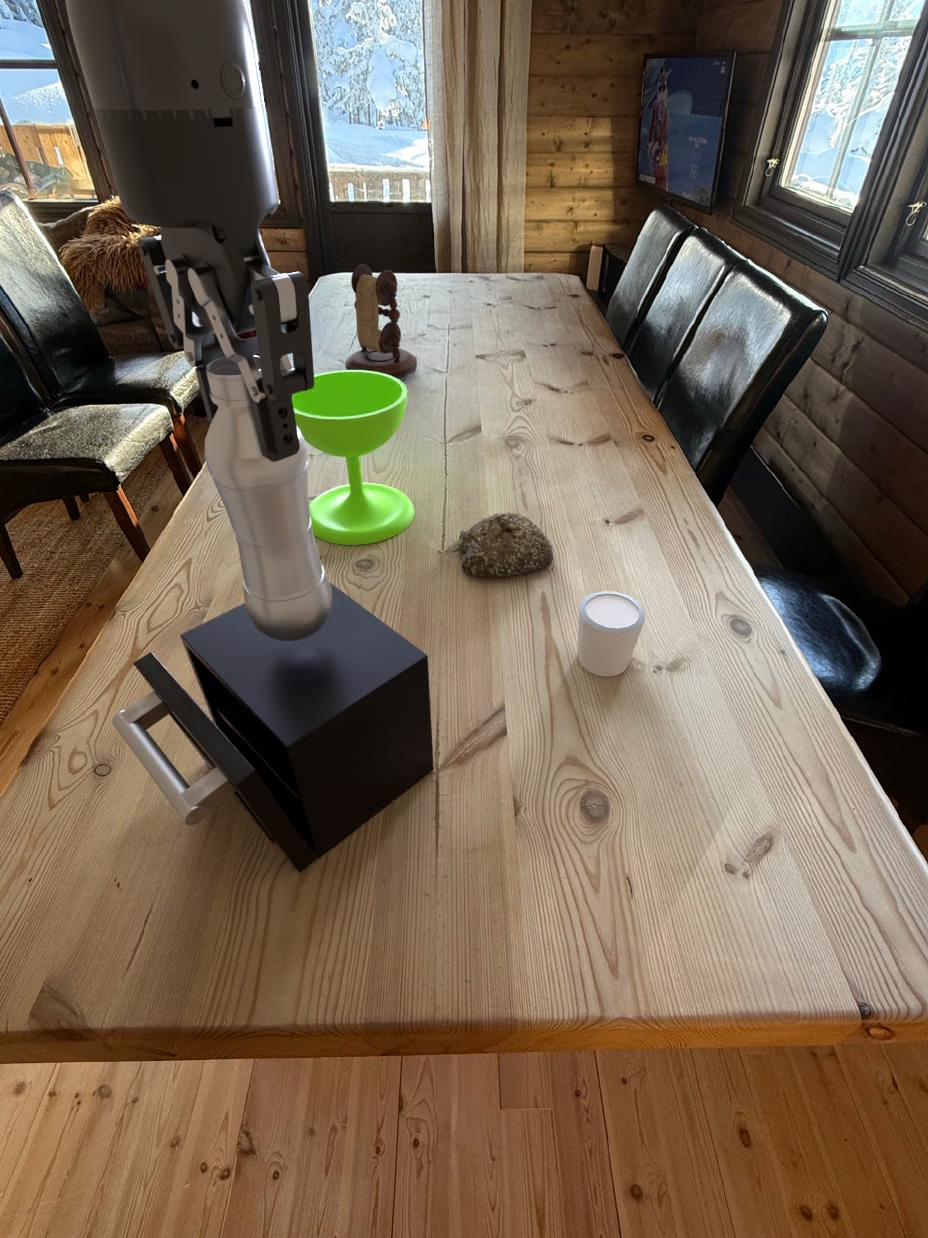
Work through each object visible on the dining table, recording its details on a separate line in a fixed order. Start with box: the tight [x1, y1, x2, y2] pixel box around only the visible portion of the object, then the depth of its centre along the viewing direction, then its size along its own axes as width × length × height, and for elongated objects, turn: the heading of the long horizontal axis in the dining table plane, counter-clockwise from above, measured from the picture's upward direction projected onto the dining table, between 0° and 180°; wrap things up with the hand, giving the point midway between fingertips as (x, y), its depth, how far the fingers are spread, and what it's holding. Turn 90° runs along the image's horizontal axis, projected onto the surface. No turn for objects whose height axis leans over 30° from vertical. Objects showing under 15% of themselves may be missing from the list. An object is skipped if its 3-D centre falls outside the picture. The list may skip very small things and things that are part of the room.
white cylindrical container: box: [577, 590, 646, 678], centre depth 71 cm, size 7×7×7 cm
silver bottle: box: [203, 354, 332, 641], centre depth 45 cm, size 6×7×20 cm
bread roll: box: [457, 512, 554, 578], centre depth 87 cm, size 13×12×5 cm
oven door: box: [111, 651, 316, 874], centre depth 53 cm, size 5×16×15 cm, turn 44°
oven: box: [179, 581, 435, 860], centre depth 58 cm, size 13×16×15 cm
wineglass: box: [292, 369, 416, 546], centre depth 90 cm, size 16×16×18 cm
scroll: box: [344, 264, 418, 379], centre depth 131 cm, size 15×15×20 cm
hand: (254, 437), depth 41 cm, fingers closed on silver bottle, 6 cm apart
